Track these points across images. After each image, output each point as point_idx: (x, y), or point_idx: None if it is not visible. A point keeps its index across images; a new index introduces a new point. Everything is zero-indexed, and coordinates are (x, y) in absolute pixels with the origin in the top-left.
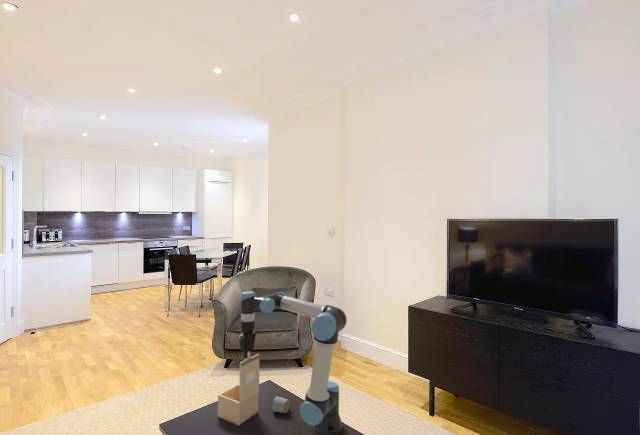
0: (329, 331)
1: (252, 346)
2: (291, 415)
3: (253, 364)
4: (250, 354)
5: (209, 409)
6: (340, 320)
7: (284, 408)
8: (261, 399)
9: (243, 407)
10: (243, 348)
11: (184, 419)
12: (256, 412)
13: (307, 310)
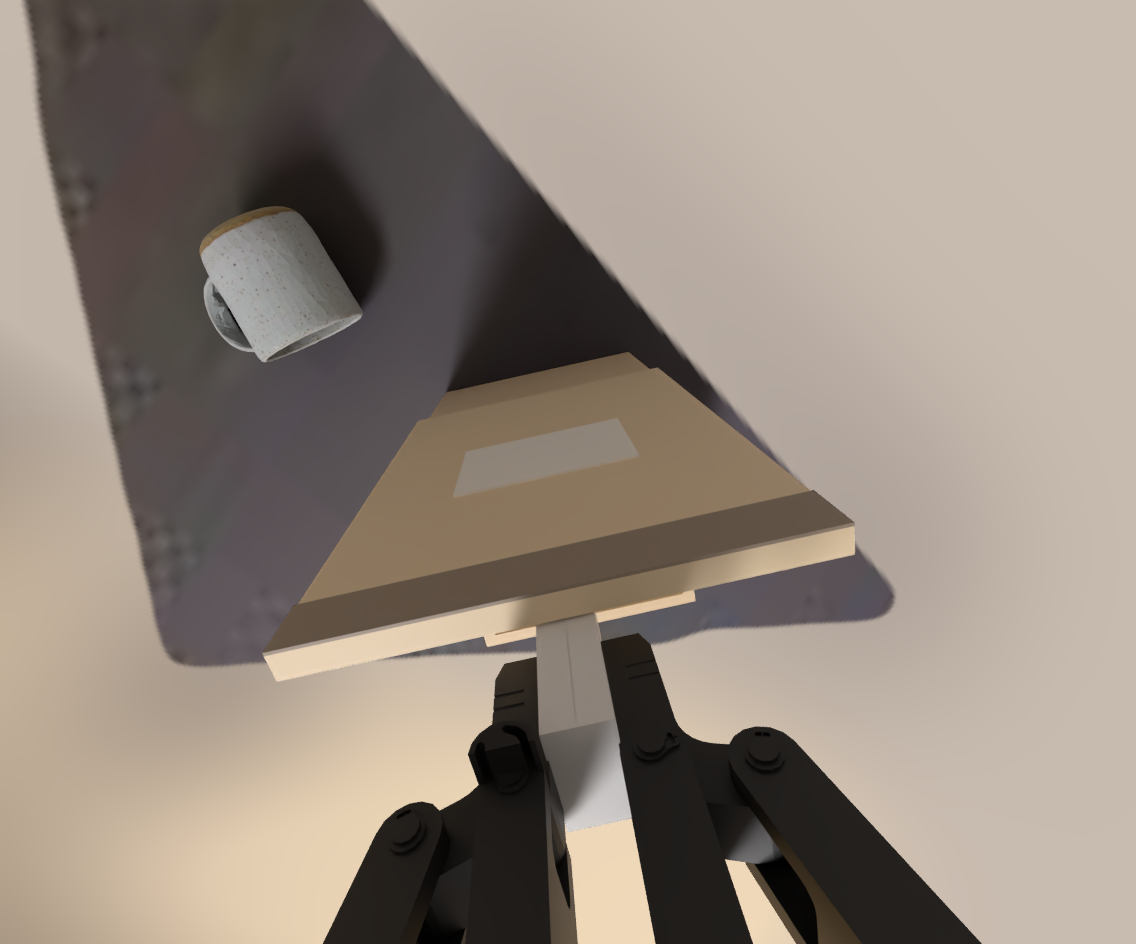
0: None
1: (418, 880)
2: (263, 176)
3: (471, 535)
4: (499, 696)
5: (645, 619)
6: None
7: (291, 210)
8: (333, 514)
9: (602, 379)
10: (890, 853)
11: (791, 616)
12: (461, 390)
13: None
